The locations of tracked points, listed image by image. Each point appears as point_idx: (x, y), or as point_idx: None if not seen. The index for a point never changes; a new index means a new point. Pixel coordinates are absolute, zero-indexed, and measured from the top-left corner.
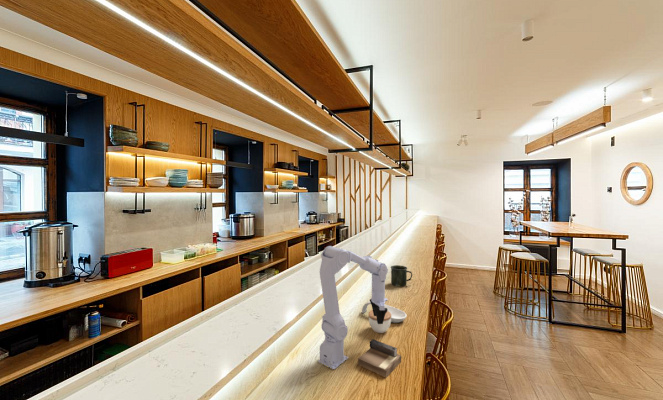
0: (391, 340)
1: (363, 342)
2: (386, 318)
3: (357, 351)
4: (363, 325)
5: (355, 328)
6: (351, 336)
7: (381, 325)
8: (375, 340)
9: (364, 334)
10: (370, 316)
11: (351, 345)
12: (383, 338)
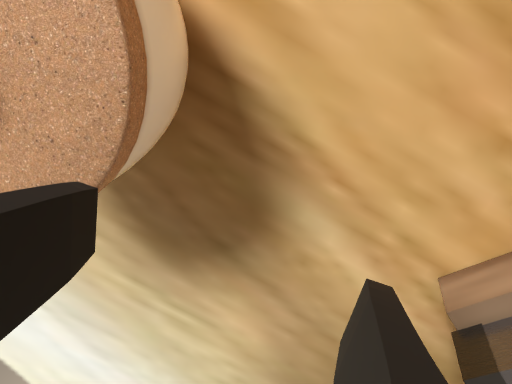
0: (342, 27)
1: (283, 284)
2: (121, 24)
3: None
4: None
5: None
6: (177, 313)
7: (171, 98)
8: (509, 375)
9: (169, 217)
10: None
11: (292, 371)
12: (278, 92)
